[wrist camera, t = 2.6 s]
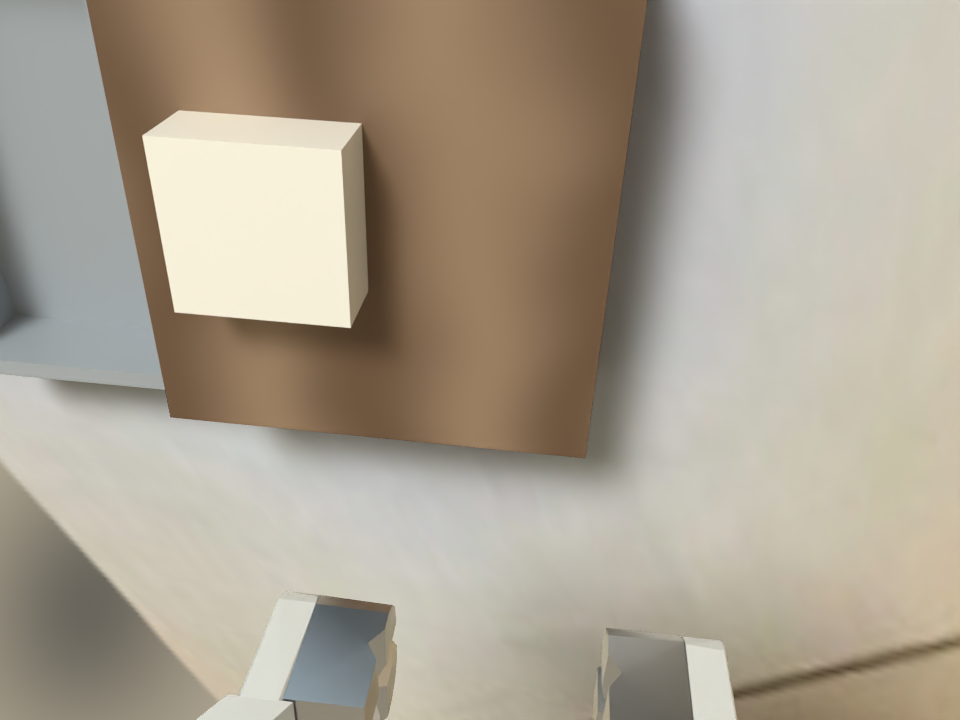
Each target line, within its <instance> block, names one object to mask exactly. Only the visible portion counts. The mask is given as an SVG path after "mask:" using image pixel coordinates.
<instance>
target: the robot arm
mask: <svg viewBox="0 0 960 720" xmlns="http://www.w3.org/2000/svg"><path fill="white" fill-rule="evenodd" d="M395 625H396V615H395V606H393V605H387V604H380V603H372V602H365V601H358V600H351V599H344V598H337V597H329V596H321V595H313V594H305V593H297V592H289V591H285V592H284V593H283V594H282V596H281V597H280V598H279V600H278V601H277V603H276V606H275V608H274V610H273V613H272V615H271V618H270V620H269V623H268V625H267V628H266V630H265V633H264V635H263V637H262V640H261V642H260V645H259V647H258V650H257V652H256V655H255V657H254V660H253V662H252V664H251V667H250V669H249V672H248V674H247V677H246V679H245V682H244V684H243V687H242V689H241V691H240V694H239V695H234V694H227V695H226V696H225V697H224V698H222V699H221V700H220V701H219V702H218V703H216V704H215V705H214V706H212V707H211V708H210V709H209V710H207V711H206V712H205V713H204V714H202V715H201V716H200V717H199V718H198V719H196V720H384V719H385V718H386V717H388V714H389V710H390V705H391V700H392V696H393V689H394V682H395V675H396V662H397V645H396V644H395V643H394V642H393V641H392V638H393V634H394V629H395ZM601 661H602V666H600V667H599V668H598V669H597V676H596V683H595V692H594V702H593V720H737V714H736V708H735V702H734V696H733V691H732V685H731V679H730V673H729V667H728V661H727V655H726V649H725V647H724V645H723V643H722V642H721V641H720V640H711V639H702V638H693V637H684V636H683V637H680V635H672V634H662V633H652V632H642V631H632V630H622V629H612V628H606V629H605V632H604V635H603V641H602V646H601Z"/></svg>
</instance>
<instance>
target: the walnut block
mask: <svg viewBox="0 0 960 720" xmlns="http://www.w3.org/2000/svg"><path fill="white" fill-rule="evenodd" d="M86 3H87V8H88V13H89V18H90V23H91V27H92V32H93V37H94V42H95V47H96V52H97V57H98V62H99V67H100V72H101V77H102V82H103V87H104V92H105V97H106V101H107V106H108V111H109V116H110V121H111V126H112V131H113V136H114V141H115V146H116V151H117V156H118V161H119V166H120V171H121V175H122V180H123V185H124V190H125V195H126V200H127V205H128V210H129V215H130V220H131V225H132V230H133V235H134V240H135V244H136V249H137V254H138V259H139V264H140V269H141V274H142V279H143V284H144V289H145V294H146V299H147V304H148V309H149V314H150V318H151V323H152V328H153V333H154V338H155V343H156V348H157V353H158V358H159V363H160V368H161V373H162V378H163V383H164V388H165V392H166V397H167V402H168V407H169V412H170V417H173V418H183V419H193V420H203V421H214V422H224V423H234V424H244V425H254V426H264V427H274V428H285V429H295V430H305V431H315V432H325V433H335V434H346V435H356V436H366V437H376V438H386V439H396V440H406V441H417V442H427V443H437V444H447V445H457V446H467V447H477V448H488V449H498V450H508V451H518V452H528V453H538V454H548V455H559V456H569V457H579V458H585V456H586V449H587V441H588V434H589V427H590V419H591V412H592V405H593V397H594V390H595V383H596V375H597V368H598V360H599V353H600V346H601V338H602V331H603V324H604V316H605V309H606V302H607V294H608V287H609V280H610V272H611V265H612V258H613V250H614V243H615V235H616V228H617V221H618V213H619V206H620V199H621V191H622V184H623V177H624V169H625V162H626V155H627V147H628V140H629V132H630V125H631V118H632V110H633V103H634V96H635V88H636V81H637V74H638V66H639V59H640V52H641V44H642V37H643V30H644V22H645V15H646V7H647V0H86ZM179 110H181V111H195V112H209V113H223V114H237V115H251V116H265V117H279V118H293V119H307V120H321V121H335V122H349V123H362V141H363V167H364V192H365V218H366V243H367V269H368V293H367V295H366V297H365V299H364V301H363V303H362V305H361V307H360V309H359V312H358V314H357V316H356V318H355V320H354V322H353V324H352V326H351V328H345V327H333V326H322V325H311V324H300V323H288V322H277V321H266V320H255V319H244V318H232V317H221V316H210V315H199V314H188V313H176V312H174V306H173V301H172V295H171V290H170V284H169V279H168V274H167V268H166V263H165V257H164V252H163V246H162V241H161V236H160V230H159V225H158V219H157V214H156V208H155V203H154V197H153V192H152V187H151V181H150V176H149V170H148V165H147V159H146V154H145V149H144V143H143V138H142V135H144V134H145V133H147V132H148V131H150V130H151V129H153V128H154V127H155V126H157V125H158V124H160V123H161V122H163V121H164V120H166V119H167V118H168V117H170V116H171V115H173V114H174V113H176V112H177V111H179Z"/></svg>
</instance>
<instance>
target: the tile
mask: <svg viewBox="0 0 960 720" xmlns="http://www.w3.org/2000/svg"><path fill="white" fill-rule="evenodd" d="M142 138H143V143H144V149H145V154H146V159H147V165H148V170H149V176H150V181H151V187H152V192H153V197H154V203H155V208H156V214H157V219H158V225H159V230H160V236H161V241H162V246H163V252H164V257H165V263H166V268H167V274H168V279H169V284H170V290H171V295H172V301H173V306H174V312H176V313H188V314H199V315H210V316H221V317H232V318H244V319H255V320H266V321H277V322H288V323H300V324H311V325H322V326H333V327H345V328H351V326H352V324H353V322H354V320H355V318H356V316H357V314H358V312H359V309H360V307H361V305H362V303H363V301H364V299H365V297H366V295H367V293H368V269H367V243H366V218H365V192H364V167H363V141H362V123H349V122H335V121H321V120H307V119H293V118H279V117H265V116H251V115H237V114H223V113H209V112H195V111H181V110H179V111H177V112H176V113H174V114H173V115H171V116H170V117H168V118H167V119H166V120H164V121H163V122H161V123H160V124H158V125H157V126H155V127H154V128H153V129H151V130H150V131H148V132H147V133H145V134H144V135H142Z"/></svg>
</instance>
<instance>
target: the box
mask: <svg viewBox="0 0 960 720" xmlns="http://www.w3.org/2000/svg"><path fill="white" fill-rule="evenodd" d="M0 374H5V375H15V376H26V377H36V378H46V379H57V380H67V381H78V382H88V383H98V384H109V385H119V386H130V387H140V388H150V389H161V390H165V388H164V383H163V378H162V373H161V368H160V363H159V358H158V353H157V348H156V343H155V338H154V333H153V328H152V323H151V318H150V314H149V309H148V304H147V299H146V294H145V289H144V284H143V279H142V274H141V269H140V264H139V259H138V254H137V249H136V244H135V240H134V235H133V230H132V225H131V220H130V215H129V210H128V205H127V200H126V195H125V190H124V185H123V180H122V175H121V171H120V166H119V161H118V156H117V151H116V146H115V141H114V136H113V131H112V126H111V121H110V116H109V111H108V106H107V101H106V97H105V92H104V87H103V82H102V77H101V72H100V67H99V62H98V57H97V52H96V47H95V42H94V37H93V32H92V27H91V23H90V18H89V13H88V8H87V3H86V0H0Z"/></svg>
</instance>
